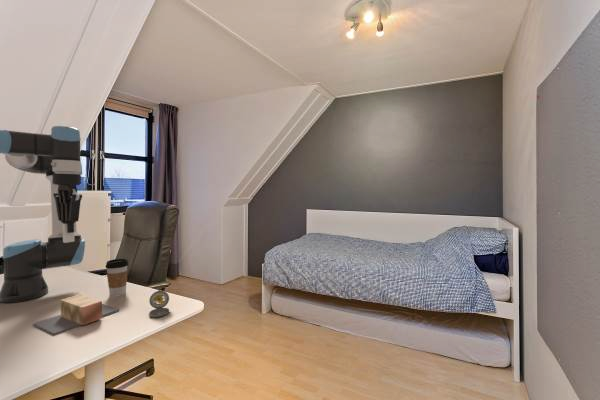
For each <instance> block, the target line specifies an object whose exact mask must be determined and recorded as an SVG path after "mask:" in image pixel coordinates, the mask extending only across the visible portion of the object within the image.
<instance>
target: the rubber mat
mask: <svg viewBox="0 0 600 400" xmlns="http://www.w3.org/2000/svg"><path fill="white" fill-rule="evenodd" d="M119 311H120V309H119V308H116V307H113V306H110V305H108V304H105V303H102V318H104V317H107V316H109V315H112V314H115V313H116V312H119ZM32 326H34V327H36V328H39V329H40V330H41V331H42V330H43V331H44V332H46V333H48V334H50V335H52V336H56V335H58V334H61V333H64V332H66V331H69V330H72V329H74V328H77V327H80V326H82V325H81V324H78V323H76V322H73V321H71V320H68V319H66V318H63V317H61V314H58V315H55V316H52V317H49V318H46V319H43V320H39V321H36V322H33V323H32Z"/></svg>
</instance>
